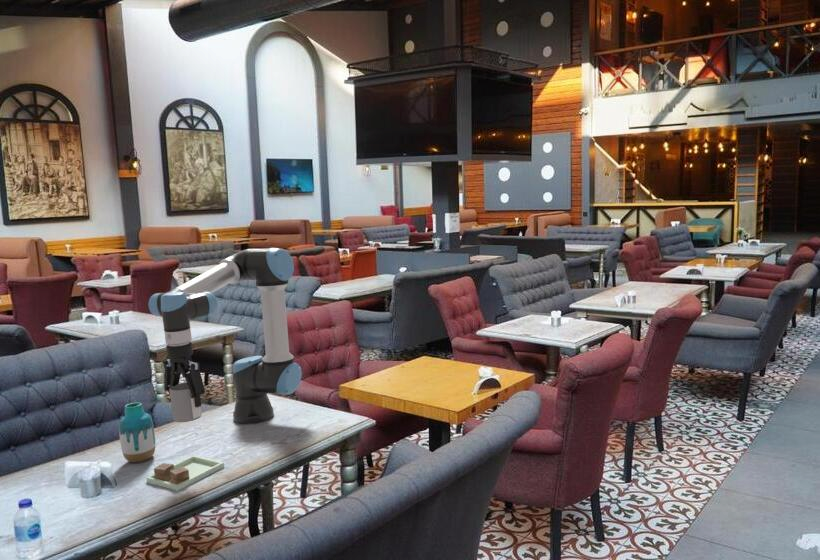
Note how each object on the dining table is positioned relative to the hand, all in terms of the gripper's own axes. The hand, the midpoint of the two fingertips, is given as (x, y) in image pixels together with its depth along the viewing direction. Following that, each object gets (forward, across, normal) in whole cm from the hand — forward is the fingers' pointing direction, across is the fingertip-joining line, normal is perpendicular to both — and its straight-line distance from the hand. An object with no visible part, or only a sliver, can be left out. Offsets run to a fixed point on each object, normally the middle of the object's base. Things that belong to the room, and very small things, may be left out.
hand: (187, 414), depth 206 cm
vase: (+19, -25, -1) cm, 31 cm away
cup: (+1, 0, 0) cm, 1 cm away
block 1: (+18, -4, -8) cm, 20 cm away
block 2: (+18, +4, -8) cm, 20 cm away
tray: (+19, 0, -3) cm, 19 cm away
